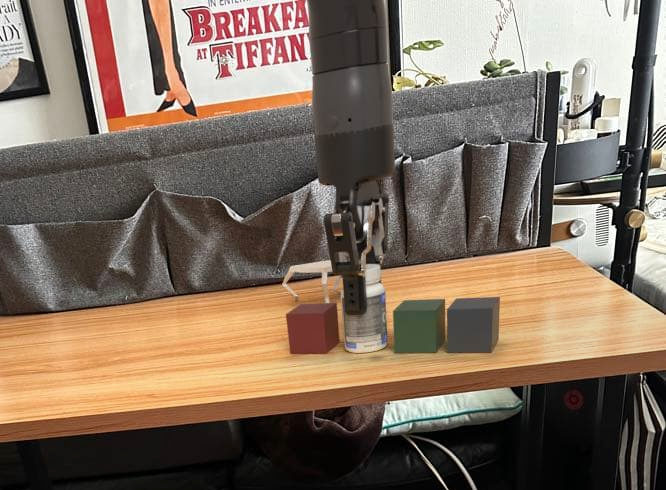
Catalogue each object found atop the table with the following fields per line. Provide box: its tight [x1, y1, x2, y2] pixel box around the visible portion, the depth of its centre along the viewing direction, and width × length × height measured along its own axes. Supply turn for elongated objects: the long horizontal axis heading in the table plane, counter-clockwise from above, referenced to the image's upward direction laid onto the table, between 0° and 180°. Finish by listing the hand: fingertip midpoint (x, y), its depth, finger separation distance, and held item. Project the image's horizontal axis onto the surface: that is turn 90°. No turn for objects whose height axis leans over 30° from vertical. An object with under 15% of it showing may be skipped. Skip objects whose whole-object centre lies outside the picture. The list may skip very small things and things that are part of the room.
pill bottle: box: [339, 264, 389, 354], centre depth 77 cm, size 5×5×8 cm
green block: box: [392, 298, 446, 354], centre depth 76 cm, size 4×4×4 cm
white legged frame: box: [281, 259, 348, 303], centre depth 101 cm, size 12×8×5 cm
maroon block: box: [285, 302, 341, 355], centre depth 81 cm, size 4×4×4 cm
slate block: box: [446, 296, 501, 354], centre depth 73 cm, size 4×4×4 cm
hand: (364, 306), depth 77 cm, fingers closed on pill bottle, 4 cm apart
